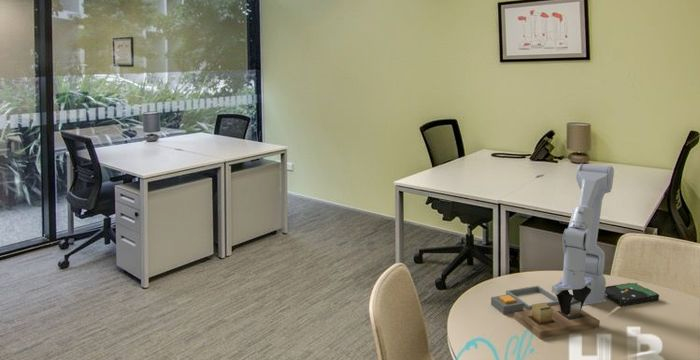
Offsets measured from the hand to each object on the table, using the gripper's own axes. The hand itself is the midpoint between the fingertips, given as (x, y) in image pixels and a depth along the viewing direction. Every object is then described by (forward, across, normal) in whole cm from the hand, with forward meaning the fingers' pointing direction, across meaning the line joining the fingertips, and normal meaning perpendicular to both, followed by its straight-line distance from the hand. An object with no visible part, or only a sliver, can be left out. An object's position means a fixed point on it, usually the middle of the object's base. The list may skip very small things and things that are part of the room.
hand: (570, 311), depth 150 cm
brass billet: (+3, +10, -1) cm, 10 cm away
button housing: (+3, +11, -15) cm, 19 cm away
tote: (+3, 0, -15) cm, 15 cm away
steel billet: (+3, 0, 0) cm, 3 cm away
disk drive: (+4, -29, -4) cm, 30 cm away
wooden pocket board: (+3, +5, -1) cm, 6 cm away
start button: (+3, +11, -15) cm, 19 cm away
